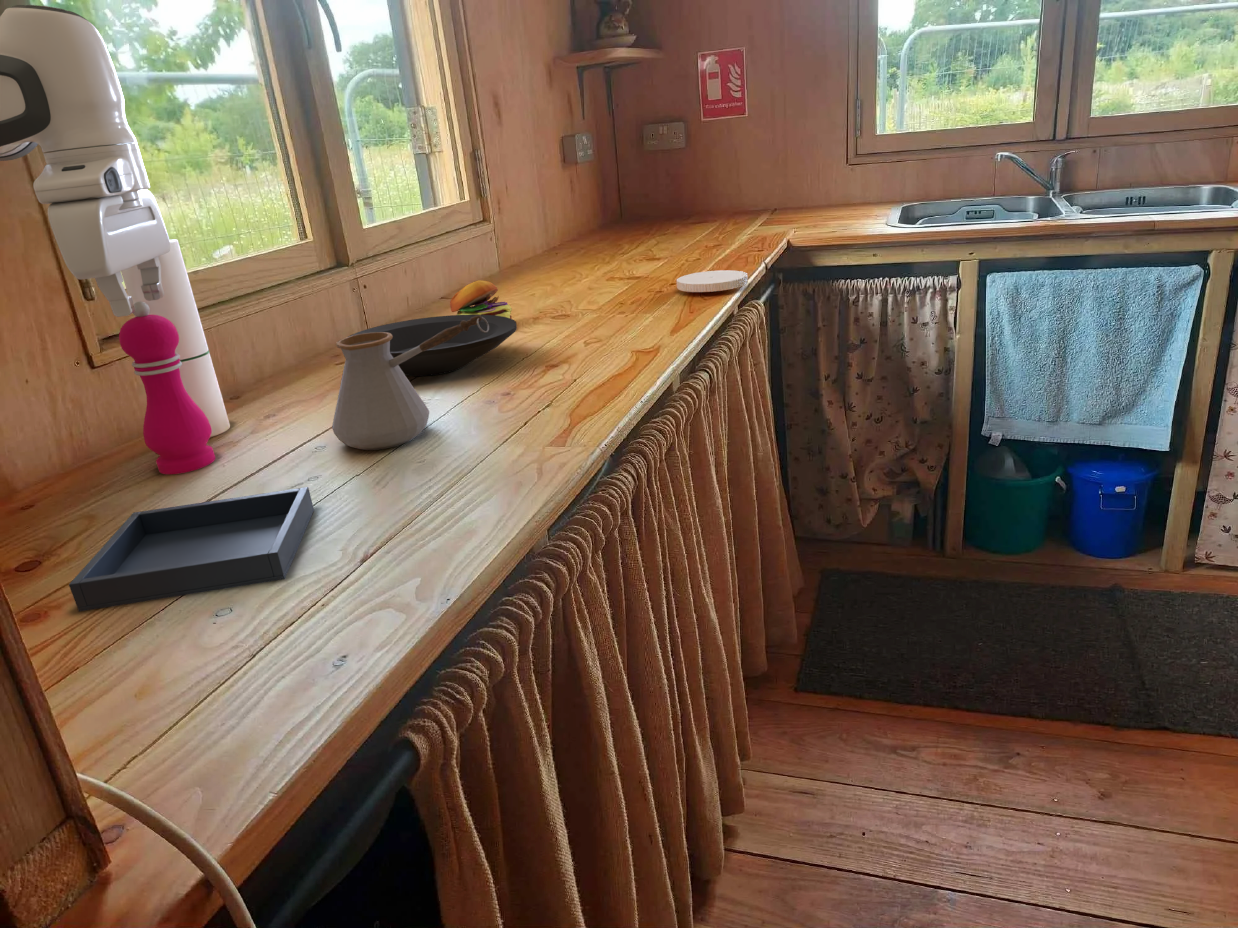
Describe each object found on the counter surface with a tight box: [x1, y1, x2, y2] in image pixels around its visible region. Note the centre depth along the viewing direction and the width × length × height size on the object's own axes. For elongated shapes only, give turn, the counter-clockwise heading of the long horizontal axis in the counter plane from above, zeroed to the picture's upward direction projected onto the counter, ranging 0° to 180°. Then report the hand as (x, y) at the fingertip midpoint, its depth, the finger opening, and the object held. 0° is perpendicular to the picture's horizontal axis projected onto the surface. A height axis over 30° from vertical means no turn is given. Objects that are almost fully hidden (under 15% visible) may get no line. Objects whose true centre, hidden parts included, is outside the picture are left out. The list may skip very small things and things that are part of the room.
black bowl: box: [345, 314, 518, 377], centre depth 137 cm, size 28×24×6 cm
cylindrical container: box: [121, 239, 231, 438], centre depth 112 cm, size 7×7×25 cm
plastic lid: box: [675, 269, 748, 293], centre depth 173 cm, size 14×14×2 cm
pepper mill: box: [118, 302, 216, 475], centre depth 101 cm, size 7×7×20 cm
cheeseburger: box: [449, 279, 513, 319], centre depth 159 cm, size 10×11×10 cm
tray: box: [68, 486, 315, 612], centre depth 79 cm, size 17×15×3 cm
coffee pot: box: [331, 315, 489, 451], centre depth 102 cm, size 21×12×15 cm, turn 76°
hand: (141, 306), depth 97 cm, fingers open, 8 cm apart
